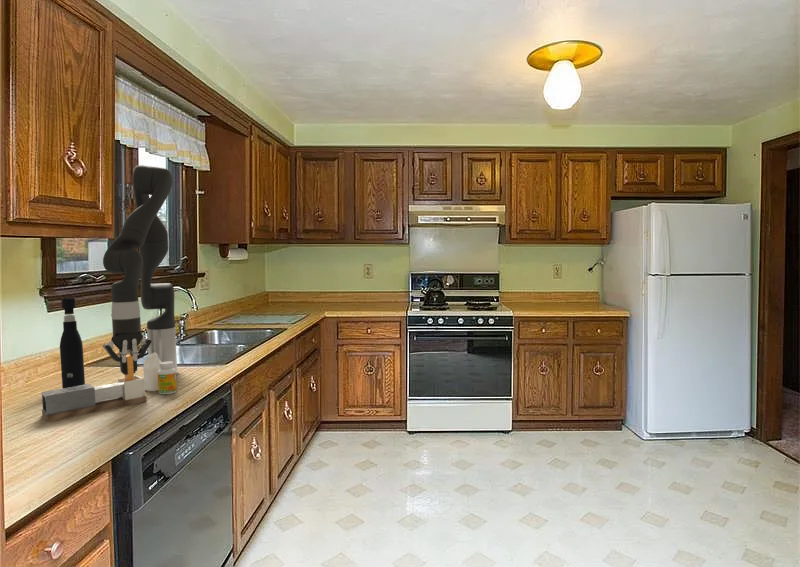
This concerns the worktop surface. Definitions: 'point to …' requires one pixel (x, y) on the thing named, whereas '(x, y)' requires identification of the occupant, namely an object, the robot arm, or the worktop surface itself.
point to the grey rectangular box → (68, 399)
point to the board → (95, 408)
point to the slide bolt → (115, 384)
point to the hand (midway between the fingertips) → (129, 373)
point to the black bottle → (71, 348)
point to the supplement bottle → (167, 378)
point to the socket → (133, 387)
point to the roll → (151, 372)
